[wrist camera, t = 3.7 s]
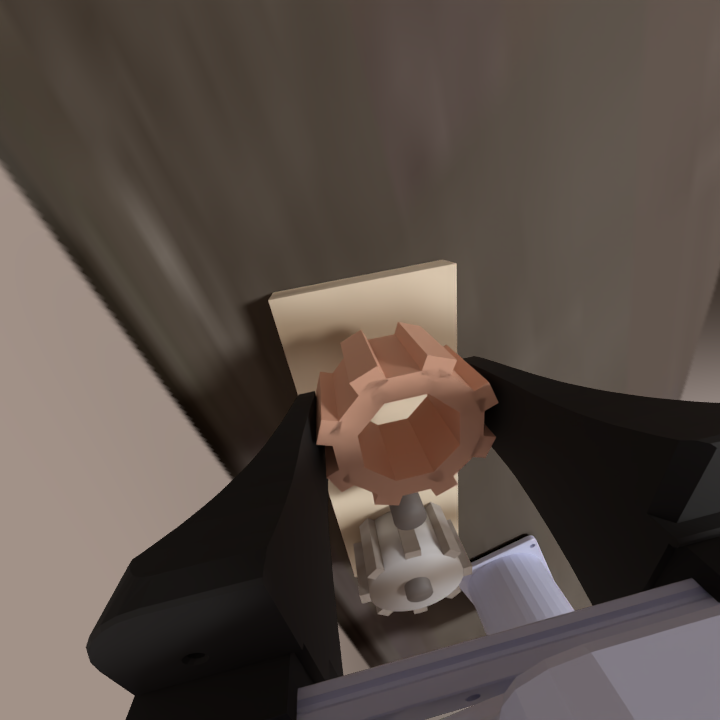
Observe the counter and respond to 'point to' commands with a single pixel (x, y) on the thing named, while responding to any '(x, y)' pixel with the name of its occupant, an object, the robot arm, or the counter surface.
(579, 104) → the counter surface
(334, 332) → the board
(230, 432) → the counter surface
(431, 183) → the counter surface
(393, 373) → the gear
